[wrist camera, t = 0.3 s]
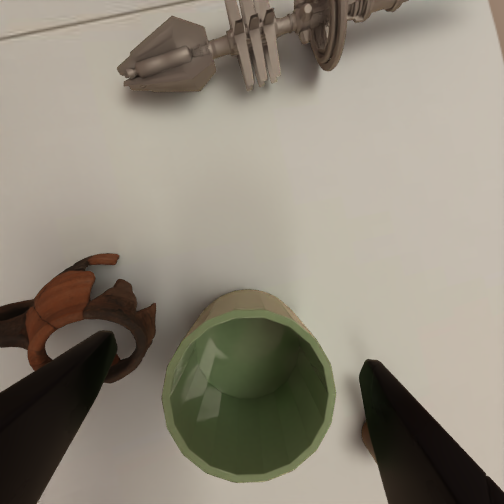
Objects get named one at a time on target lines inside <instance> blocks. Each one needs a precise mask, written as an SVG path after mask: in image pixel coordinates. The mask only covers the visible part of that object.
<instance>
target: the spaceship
mask: <svg viewBox="0 0 504 504" xmlns="http://www.w3.org/2000/svg"><path fill="white" fill-rule="evenodd" d="M406 1H409V0H294V11H293V14H288V15H287V16H285V17H282V18H276V16H275V14H274V13H275V11H274V8H271V9H270V5H269V1H268V0H253V2H252V0H239V4H240V9H241V14H242V19H241V16H240V13H239V9H238V6H237V2H236V0H225V4H226V9H227V14H228V19H229V23H230V28H231V29H230V30H228V31H226V35H225V36H222V37H221V38H218V39H215V40H214V39H213V40H211V41H208V39H207V35H206V32H205V28H204V27H203V26H201V25H198V24H195V23H192V22H189V21H186V20H183V19H180V18H177V17H174V16H171V17H170V18H169V19H168V20H167V21H165V22H164V23H163V24H162V25H161V26H160V27H159V28H157V29H156V30H155V31H154V32H153V33H152V34H151V35H149V36H148V37H147V38H146V39H145V40H144V41H143V42H141V43H140V44H139V45H138V46H137V47H136V48H135V49H133V50H132V51H131V52H130V56H129V57H128V58H127V59H126V60H125V61H124V62H123V63H121V64H120V65H119V66H118V67H117V70H118V72H119V73H120V75H122V76H125V78H129V79H128V80H126V81H124V86H129V87H130V89H131V90H133V91H152V92H181V91H201V90H202V89H203V87H204V86H205V85H206V84H207V83H208V81H209V80H210V79H211V78H212V76H213V75H214V74H215V73H216V71H217V70H216V66H215V63H214V59H216V58H218V57H221V56H224V55H229V54H231V56H233V55H236V56H237V58H238V62H239V65H240V68H241V72H242V75H243V79H244V82H245V85H246V89H247V91H250V90H253V84H254V79H253V73H252V68H251V62H250V57H251V60H252V64H253V67H254V71H255V74H256V78H257V81H258V85H259V87H263V86H265V80H267V72H266V66H267V69H268V73H269V77H270V80H271V83H275V82H277V76H280V75H281V72H280V64H279V57H278V49H277V42H276V40H277V37H280V36H281V35H283V34H286V33H292V32H293V31H295V33H297V34H299V35H298V36H299V38H300V41H301V43H302V44H303V45H305V44H308V43H309V42H310V44H311V47H312V51H313V53H314V56H315V57H316V60H317V62H318V64H319V66H320V67H321V68H322V69H323V70H325V71H331V70H333V69H334V68H335V67H336V65H337V64H338V62H339V60H340V58H341V55H342V51H343V47H344V43H345V37H346V28H347V21H350V20H353V21H354V23H359V22H364V21H365V20H366V19H368V18H369V17H370V15H371V13H373V12H376V11H379V10H382V9H384V10H386V11H387V12H394V11H395V10H396V9H398V8H399V7H400V6H401V4H402V3H403V2H406ZM253 3H254V5H253ZM249 53H250V57H249ZM330 58H331V59H330ZM264 59H265V60H264ZM328 59H329V60H328ZM265 62H266V66H265Z"/></svg>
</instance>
